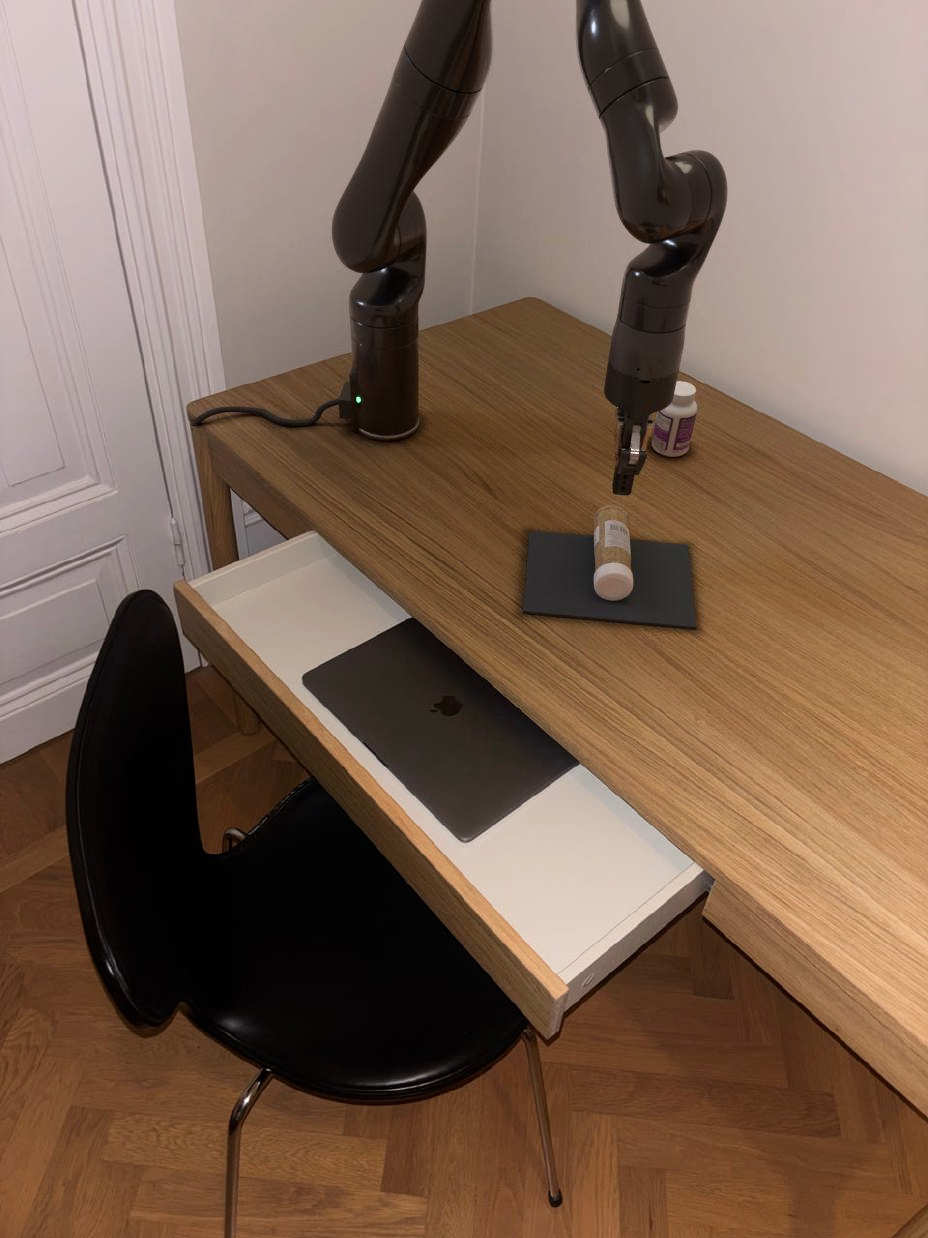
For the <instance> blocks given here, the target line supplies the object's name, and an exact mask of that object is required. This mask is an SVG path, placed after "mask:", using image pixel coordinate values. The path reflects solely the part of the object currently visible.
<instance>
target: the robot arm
mask: <svg viewBox="0 0 928 1238" xmlns="http://www.w3.org/2000/svg"><path fill="white" fill-rule="evenodd" d="M493 21H494V20H493V0H420V4H419V6H418V9H417V12H416V15H415V16H414V20H413V22H412V24H411V27H410V29H409V31H408V33H407V36H406V38H405V41H404V43H403V45H402V48H401V51H400V54H399V56H398V59H397V62H396V64H395V68H394V70H393V73H392V75H391V80H390V83H389V86H388V88H387V90H386V91H387V92H386V94H385V96H384V99H383V101H382V104H381V107H380V108H379V112H378V114H377V117H376V120H375V122H374V125H373V127H372V130H371V133H370V136H369V138H368V141H367V144H366V146H365V149H364V151H363V153H362V155H361V158H360V160H359V162H358V164H357V166H356V168H355V170H354V171H353V173H352V175H351V177H350V179H349V181H348V183H347V185H346V187H345V189H344V190H343V192H342V194H341V197H340V198H339V200H338V202H337V204H336V207H335V208H334V212H333V215H332V219H331V220H332V221H331V241H332V246H333V249H334V252H335V255H336V256H337V258H338V259H339V261H340V263H341V264H342V265H343V266H344V267H346V268H347V269H348V270H350V271H352V272H354V273H358V274H361V275H360V276H359V278H358V279H357V280H356V281H355V283H354V285H353V286H352V287H351V289H350V290H349V294H348V311H349V312H348V313H349V329H350V330H349V331H350V346H351V348H350V349H351V350H350V351H351V365H350V369H349V372H348V381H344V384H343V386H342V389H341V392H340V394H339V396H338V397H337V398H334V399H331V400H328V401H326V402H324V403H322V404H321V405H320V406H319V407H318V408H317V409H316V410H315V413H314V415H313V416H312V417H310V418H307V419H301V420H299V419H289V418H284V417H280V416H277V415H275V414H273V413H271V412H270V411H268V410H267V409H264V408H260V407H253V406H237V405H236V406H235V405H234V406H233V405H230V406H229V405H228V406H220V407H214V408H212V409H208V410H207V411H204V412H203V413H201V414H200V415H198V416H197V417H196V418H195V419H194V420H192V422H191V424H190V426H192V427H196V426H199V425H200V424H201V423H202V422H203V421H205V420H206V419H209V418H210V417H214V416H215V415H219V414H225V413H243V414H256V415H261V416H263V417H265V418H267V419H268V420H270V421H271V422H274V423H276V424H280V425H286V426H292V427H293V426H294V427H306V426H310V425H313V424H315V423H317V422H318V421H319V420H320V419H321V417H322V415H323V413H324V412H325V411H326V410H328V409H330V408H332V407H335V406H338V414H339V415H338V417H339V419H341V420H343V419H344V420H351V430H352V432H353V433H358V434H361V435H362V436H363V437H366V438H368V439H371V440H377V441H384V442H385V441H388V442H389V441H390V442H391V441H396V440H402V439H405V438H408V437H410V436H411V435H413V434H414V433H416V432H417V430H418V429H419V427H420V409H419V407H420V405H419V403H420V402H419V401H420V399H419V398H420V397H419V393H420V392H419V391H420V390H419V389H420V388H419V387H420V386H419V385H420V383H419V378H420V377H419V376H420V375H419V374H420V373H419V372H420V371H419V369H420V367H419V366H420V365H419V363H420V362H419V361H420V359H419V357H420V356H419V355H420V351H419V350H420V349H419V348H420V347H419V345H420V344H419V339H420V335H419V325H420V324H419V317H420V316H419V305H420V301H421V298H422V297H423V294H424V291H425V284H426V271H427V270H426V267H427V251H428V228H427V227H428V226H427V218H426V213H425V210H424V207H423V205H422V202H421V200H420V198H419V196H418V195H417V193H416V192H415V189H416V188H417V186H418V185H419V184H420V182H421V181H422V180H423V178H424V177H425V176H426V175H427V173H428V172H429V171H431V169H432V168H433V166H434V165H435V164H436V163H437V162H438V161H439V160H440V158H441V157H442V156H443V155H444V153H446V151H447V150H448V149H449V147H450V146H451V145H452V144H453V142H454V141H455V140H456V138H457V137H458V136H459V134H460V133H461V131H462V130H463V129H464V127H465V125H467V122H468V120H469V119H470V117H471V114H472V112H473V110H474V108H475V106H476V104H477V101H478V100H479V97H480V95H481V93H482V91H483V88H484V86H485V85H486V82H487V80H488V77H489V74H490V72H491V68H492V64H493V61H494V60H493V58H494V50H495V49H494V23H493ZM575 46H576V47H575V48H576V55H577V60H578V65H579V69H580V73H581V76H582V80H583V82H584V85H585V88H586V90H587V92H588V96H589V97H590V100H591V103H592V105H593V109H594V110H595V113H596V115H597V117H598V120H599V122H600V125H601V127H602V129H603V132H604V136H605V142H606V151H607V159H608V167H609V172H610V181H611V188H612V195H613V196H612V197H613V202H614V206H615V210H616V214H617V216H618V219H619V220H620V223H621V224H622V226H623V227H624V228H625V230H626V231H627V232H628V233H629V234H630V236H632V238H634V239H636V240H637V241H638V242H640V243H643V244H645V245H646V244H648V245H647V247H646V248H645V249H644V250H642V251H641V252H640V253H638V254H637V255H636V256H634V257H632V259H631V260H630V261H629V262H628V263H627V265H626V266H625V270H624V272H623V277H622V282H621V287H620V288H621V289H620V295H619V301H618V307H617V308H618V309H617V314H616V319H615V322H614V325H613V329H612V334H611V340H610V346H609V353H608V359H607V366H606V372H605V380H604V386H603V394H604V396H605V398H606V400H607V401H608V402H609V403H610V404H611V405H612V406H614V407H615V412H614V414H615V415H614V419H615V426H614V427H615V428H614V434H613V439H614V440H613V441H614V456H613V457H614V472H613V478H612V482H611V487H612V488H611V489H612V490H611V491H612V494H613V495H616V496H630V495H631V494H632V491H633V486H634V481H635V476H639V475H640V473H641V471H642V469H643V467H644V465H645V463H646V460H647V459H648V454H647V448H648V447H647V446H648V443H649V437H652V435H653V430H654V419H652V415H653V414H655V413H657V412H658V411H661V410H663V409H665V408H667V407H668V406H669V405H670V404H671V402H672V400H673V397H674V392H675V387H676V382H677V381H678V377H679V372H680V367H681V363H682V358H683V352H684V347H685V341H686V327H687V321H688V316H689V311H690V307H691V301H692V298H693V297H692V296H693V290H694V285H695V282H696V279H697V278H698V275H699V274H700V272H701V270H702V268H703V267H704V264H705V262H706V259H707V257H708V255H709V253H710V251H711V249H712V246H713V243H714V242H715V240H716V237H717V235H718V232H719V230H720V228H721V225H722V223H723V219H724V216H725V212H726V208H727V204H728V193H729V189H728V179H727V174H726V172H725V168H724V165H722V163H721V161H720V160H719V159H718V157H717V156H715V155H714V154H713V153H711V152H709V151H707V150H702V149H693V150H692V149H691V150H687V151H683V152H678V153H676V154H673V155H668V156H665V155H664V153H663V150H662V149H663V148H662V143H661V134H662V133H663V132H664V131H666V130H667V129H669V127H670V126H671V125H672V124H673V123H674V121H675V119H676V118H677V116H678V113H679V102H678V97H677V93H676V91H675V87H674V85H673V82H672V81H671V77H670V75H669V72H668V70H667V67H666V65H665V62H664V59H663V57H662V54H661V52H660V49H659V47H658V44H657V41H656V39H655V37H654V34H653V32H652V28H651V26H650V23H649V21H648V18H647V15H646V11H645V9H644V6H643V4H642V1H641V0H575Z"/></svg>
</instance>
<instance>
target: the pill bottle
mask: <svg viewBox="0 0 928 1238" xmlns="http://www.w3.org/2000/svg"><path fill="white" fill-rule="evenodd" d="M696 394H697V388H696V386H695V385H693V384H692V383H691V382H687V381H684V380H677V382H676V387H675V392H674V397H673V400H672V402H671V404H670V405H669V406H668V407H667V408H665V409H663V410H661V411H658V412H656V417H655V422H654V426H653V431H652V438H651V447H652V448H653V450H654V451H655V452H656V453H658V454H659V455H662V456H665V457H669V458H675V457H681V456H683V455H685V454H687V453H688V451H689V449H690V445H691V441H692V436H693V433H694V428H695V423H696V419H697V414H698V404H697V402H696V400H695V399H696Z"/></svg>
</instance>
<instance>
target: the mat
mask: <svg viewBox="0 0 928 1238" xmlns="http://www.w3.org/2000/svg"><path fill="white" fill-rule="evenodd" d="M527 546H528V548H527V557H526V558H527V559H526V571H525V583H524V596H523V607H522V614H526V615H537V616H538V615H539V616H547V617H559V618H570V619H581V620H590V621H601V622H602V621H604V622H611V623H621V624H633V625H644V626H655V627H667V628H676V629H688V630H697V617H696V609H695V601H694V591H693V582H692V581H693V580H692V571H691V564H690V563H691V562H690V554H689V546H688V544H683V543H669V542H659V541H648V540H635V539H630V551H631V572H632V574H633V589H632V591H631V593H630V594H629V595H628V596H627V597H625V598H623V599H620V600H615V601H611V600H606V599H603V598H601V597H600V596H599V595H598V594H597V593H596V591H595V589H594V574H595V555H594V536H591V535H581V534H580V535H579V534H571V533H570V534H568V533H557V532H547V531H546V532H545V531H536V530H535V531H534V530H529V535H528V545H527Z"/></svg>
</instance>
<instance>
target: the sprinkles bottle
mask: <svg viewBox="0 0 928 1238" xmlns="http://www.w3.org/2000/svg"><path fill="white" fill-rule="evenodd" d="M629 522H630V516H629V514H628V512H627V510H625V509H624V508H623V507H620V506H618V505H615V504H609V505H605V506H602V507H600V508H599V509H597V511H596V512H595V513H594V515H593V520H592V524H593V529H594V530H593V531H594V532H593V537H594V555H595V574H594V589H595V591H596V593H597V594H598V595H599V596H600V597H601V598H603V599H606V600H611V601H615V600H620V599H623V598H625V597H627V596H628V595H629V594H630V593H631V591H632V589H633V574H632V572H631V551H630V540H631V535H630V530H629V529H630V528H629V524H630V523H629Z"/></svg>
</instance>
